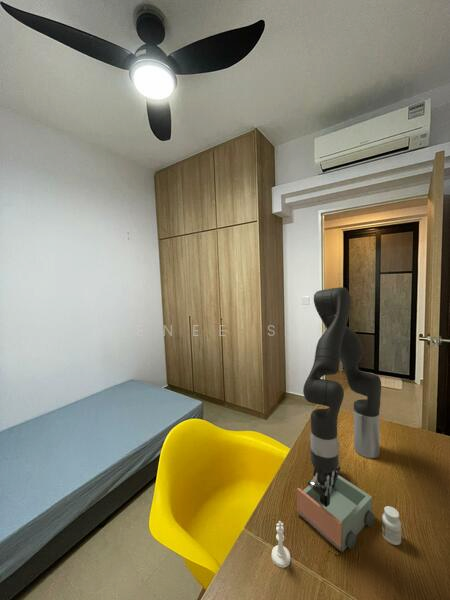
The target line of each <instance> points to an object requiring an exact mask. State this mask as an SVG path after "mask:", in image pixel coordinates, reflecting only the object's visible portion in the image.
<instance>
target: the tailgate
mask: <svg viewBox="0 0 450 600" xmlns="http://www.w3.org/2000/svg"><path fill="white" fill-rule="evenodd" d="M296 512H297V513H298V514H300V516H301V517H303V519H305V521H307V522H308V523H309V524H311V526H312V527H313V528H314V529H316V530H317V531H318V532H319V533H320V534H321V535H322V536H323V538H326V540H327V541H329V543H331V544H332V546H334V547H335V548H336V549H337V550H339V552H340V551H341V552H342V550H341V549H342V547H341V546H342V522H341V521H339V520H338V519H337V518H336V517H335V516H333V515H332V514H331V513H330V512H328V511H327V510H326V509H325V508H323V507H322V506H321V505H320V504H318V503H317V502H316V501H315V500H313V499H312V498H311V497H310V496H309V495H307V494H306V493H305V492H304V491H303V490H302V489H301V488H300V487H297V488H296Z"/></svg>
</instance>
